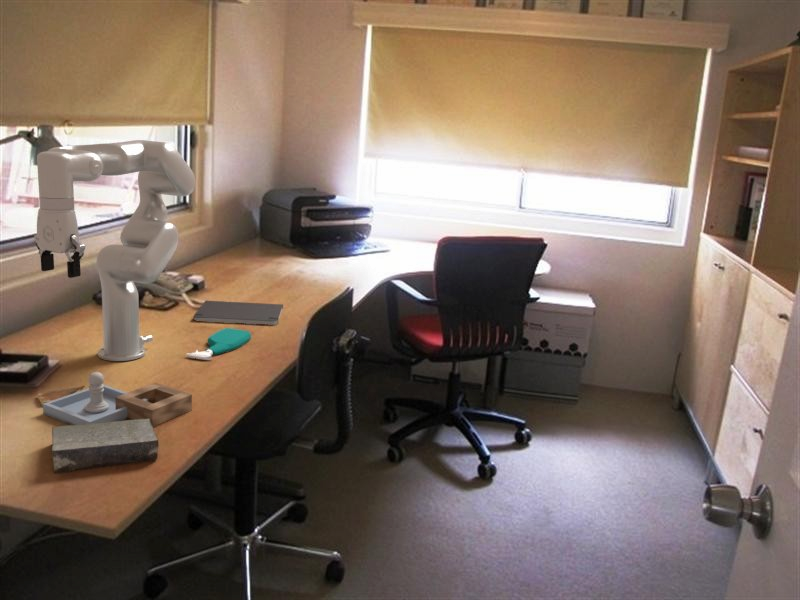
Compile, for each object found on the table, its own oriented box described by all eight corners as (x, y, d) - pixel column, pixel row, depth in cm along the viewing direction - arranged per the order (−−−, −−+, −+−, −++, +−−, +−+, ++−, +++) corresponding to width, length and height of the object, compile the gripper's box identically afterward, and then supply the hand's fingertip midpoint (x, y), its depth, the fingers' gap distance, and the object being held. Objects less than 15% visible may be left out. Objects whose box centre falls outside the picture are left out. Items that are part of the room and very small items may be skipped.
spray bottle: (254, 340, 226) (215, 365, 203) (222, 335, 229) (181, 359, 206) (254, 331, 225) (215, 355, 202) (222, 326, 228) (181, 350, 205)
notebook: (283, 310, 263) (205, 306, 261) (283, 304, 262) (205, 300, 260) (277, 327, 242) (192, 323, 240) (277, 320, 241) (192, 316, 239)
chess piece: (109, 403, 170) (108, 368, 167) (108, 413, 165) (106, 376, 162) (85, 405, 168) (83, 369, 166) (82, 414, 163) (81, 377, 161)
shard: (84, 391, 178) (84, 384, 178) (92, 402, 172) (92, 395, 172) (37, 398, 172) (36, 391, 172) (43, 410, 166) (42, 403, 166)
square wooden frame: (155, 397, 176) (155, 382, 175) (191, 410, 171) (191, 394, 170) (115, 413, 166) (115, 397, 165) (152, 426, 161) (152, 410, 160)
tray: (102, 393, 177) (102, 383, 176) (148, 409, 169) (148, 399, 169) (43, 414, 163) (42, 403, 162) (90, 432, 156) (90, 422, 155)
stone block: (158, 461, 146) (158, 439, 145) (51, 475, 138) (50, 451, 137) (151, 434, 158) (151, 413, 157) (52, 445, 150) (51, 423, 149)
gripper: (19, 201, 172) (24, 270, 177) (67, 210, 164) (71, 282, 169) (47, 198, 179) (51, 265, 183) (94, 207, 171) (97, 276, 175)
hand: (60, 273), depth 176 cm, fingers open, 9 cm apart
